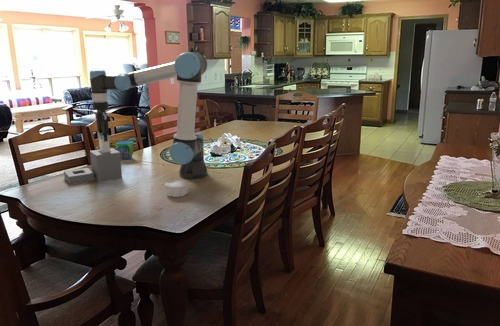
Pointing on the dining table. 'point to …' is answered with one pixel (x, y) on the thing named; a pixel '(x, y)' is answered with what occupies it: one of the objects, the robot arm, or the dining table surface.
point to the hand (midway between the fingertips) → (104, 146)
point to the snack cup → (125, 149)
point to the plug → (102, 150)
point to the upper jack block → (106, 165)
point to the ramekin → (176, 188)
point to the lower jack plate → (79, 175)
